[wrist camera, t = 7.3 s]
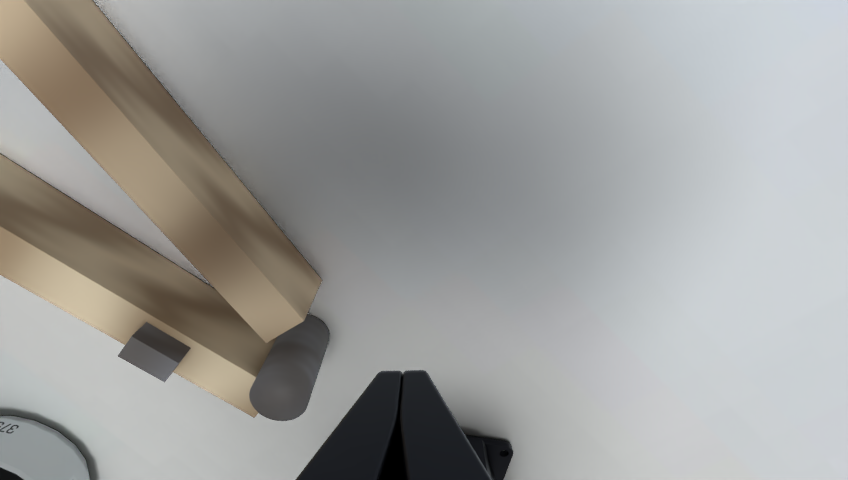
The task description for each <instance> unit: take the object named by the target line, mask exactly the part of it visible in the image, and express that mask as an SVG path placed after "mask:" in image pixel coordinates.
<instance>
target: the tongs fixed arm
mask: <svg viewBox="0 0 848 480" xmlns="http://www.w3.org/2000/svg"><path fill="white" fill-rule="evenodd" d="M0 275H2V276H4V277H5V278H7V279H9V280H11V281H12V282H14V283H16V284H18V285H20V286H21V287H23V288H25V289H27V290H28V291H30V292H32V293H34V294H36V295H37V296H39V297H41V298H43V299H44V300H46V301H48V302H50V303H52V304H53V305H55V306H57V307H59V308H60V309H62V310H64V311H66V312H67V313H69V314H71V315H73V316H75V317H76V318H78V319H80V320H82V321H83V322H85V323H87V324H89V325H91V326H92V327H94V328H96V329H98V330H99V331H101V332H103V333H105V334H107V335H108V336H110V337H112V338H114V339H115V340H117V341H119V342H121V343H123V344H124V345H125V346H124V348H123V349H122V351H121V352H120V354H119V355H118V357H120V358H122V359H124V360H126V361H127V362H129V363H131V364H133V365H135V366H136V367H138V368H140V369H142V370H144V371H145V372H147V373H149V374H151V375H153V376H155V377H156V378H158V379H160V380H162V381H164V382H165V381H166V380H167V379H168V377H169V376H170V375H171V373H172V372H174V373H176V374H178V375H179V376H181V377H183V378H185V379H186V380H188V381H190V382H192V383H194V384H195V385H197V386H199V387H201V388H202V389H204V390H206V391H208V392H210V393H211V394H213V395H215V396H217V397H218V398H220V399H222V400H224V401H225V402H227V403H229V404H231V405H233V406H234V407H236V408H238V409H240V410H241V411H243V412H245V413H247V414H249V415H250V416H252V417H255V416H256V415H257V414H258V413H260V414H261V415H263V416H265V417H267V418H269V419H272V420H277V421H287V420H292V419H295V418H297V417H299V416H300V415H301V414H303V413H304V411H305V410H306V408H307V406H308V403H309V399H310V396H311V393H312V390H313V387H314V384H315V381H316V378H317V375H318V372H319V369H320V366H321V363H322V360H323V357H324V354H325V351H326V348H327V345H328V342H329V331H328V328H327V326H326V325H325V324H324V323H323V322H322V321H321V320H320V319H318V318H317V317H314V316H311V315H307V316H306V318H305V320H304V321H303V322H301V323H300V324H298V325H296V326H294V327H293V328H291V329H289V330H288V331H286V332H284V333H282V334H281V335H279V336H277V337H276V338H274V339H272V340H271V341H269V342H267V343H266V342H265V341H264V340H263V339H262V338H261V337H260V336H259V335H258V334H257V333H256V332H255V331H254V330H253V329H252V327H251V326H250V325H249V324H248V323H247V322H246V321H245V320H244V319H243V318H242V317H241V316H240V315H239V314H238V313H237V311H236V310H235V309H234V308H233V307H232V306H231V305H230V304H229V303H228V302H227V301H226V300H225V299H224V298H223V296H222V295H221V294H220V293H219V292H218V291H217V290H215V289H214V288H212V287H211V286H209V285H207V284H206V283H204V282H203V281H201V280H199V279H198V278H196V277H195V276H193V275H192V274H190V273H188V272H187V271H185V270H184V269H182V268H180V267H179V266H177V265H176V264H174V263H172V262H171V261H169V260H168V259H166V258H165V257H163V256H161V255H160V254H158V253H157V252H155V251H153V250H152V249H150V248H149V247H147V246H146V245H144V244H142V243H141V242H139V241H138V240H136V239H134V238H133V237H131V236H130V235H128V234H126V233H125V232H123V231H122V230H120V229H119V228H117V227H115V226H114V225H112V224H111V223H109V222H107V221H106V220H104V219H103V218H101V217H100V216H98V215H96V214H95V213H93V212H92V211H90V210H88V209H87V208H85V207H84V206H82V205H81V204H79V203H77V202H76V201H74V200H73V199H71V198H69V197H68V196H66V195H65V194H63V193H61V192H60V191H58V190H57V189H55V188H54V187H52V186H50V185H49V184H47V183H46V182H44V181H42V180H41V179H39V178H38V177H36V176H35V175H33V174H31V173H30V172H28V171H27V170H25V169H23V168H22V167H20V166H19V165H17V164H15V163H14V162H12V161H11V160H9V159H8V158H6V157H4V156H3V155H1V154H0Z"/></svg>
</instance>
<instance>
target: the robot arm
mask: <svg viewBox="0 0 848 480" xmlns="http://www.w3.org/2000/svg"><path fill="white" fill-rule="evenodd" d="M502 450H505V451H502ZM512 456H513V450H512V446H511V444H510V443H509V442H506V441H501V440H495V439H488V438H481V437H475V436H468V435H465V434H464V433H463V431H462V429H461V428H460V426H459V425H458V423H457V421H456V420H455V418H454V416H453V415H452V413H451V411H450V410H449V408H448V406H447V405H446V403H445V401H444V400H443V398H442V396H441V395H440V393H439V391H438V390H437V388H436V386H435V385H434V383H433V381H432V380H431V378H430V376H429V375H428V373H427V372H426V371H424V370H412V371H405V372H404V373H403V374H402V372H401V371H381V372H379V373H378V374H377V375H376V377H375V378H374V379H373V381H372V382H371V383H370V384H369V386H368V387H367V388H366V390H365V391H364V392H363V394H362V395H361V396H360V397H359V399H358V400H357V401H356V403H355V404H354V405H353V406H352V408H351V409H350V410H349V412H348V413H347V414H346V415H345V417H344V418H343V419H342V421H341V422H340V423H339V425H338V426H337V427H336V428H335V430H334V431H333V432H332V434H331V435H330V436H329V437H328V439H327V440H326V441H325V443H324V444H323V445H322V446H321V448H320V449H319V450H318V452H317V453H316V454H315V456H314V457H313V458H312V459H311V461H310V462H309V463H308V465H307V466H306V467H305V468H304V470H303V471H302V472H301V474H300V475H299V476H298V477H297V479H296V480H503V479H504V476H505V474H506V471H507V469H508V466H509V463H510V461H511V458H512Z"/></svg>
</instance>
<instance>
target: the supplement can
mask: <svg viewBox="0 0 848 480" xmlns="http://www.w3.org/2000/svg"><path fill="white" fill-rule="evenodd" d="M0 480H90V479H89V472H88V467H87V463H86V460H85V458H84V457H83V455H82V454H81V453H80V451H79V450H78V448H77V447H76V445H75V444H73V443H72V442H71V441H70V440H68V439H67V438H66V437H64V436H63V435H62V434H61V433H59V432H58V431H56V430H54V429H52V428H50V427H48V426H46V425H43V424H41V423H39V422H37V421H34V420H29V419H25V418H20V417H16V416H0Z"/></svg>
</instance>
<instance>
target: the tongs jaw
mask: <svg viewBox="0 0 848 480" xmlns="http://www.w3.org/2000/svg"><path fill="white" fill-rule="evenodd" d="M0 59H1V60H2V61H3V62H4V63H5V64H6V65H7V67H8V68H9V69H10V70H11V71H12V72H13V73H14V74H15V75H16V76H17V77H18V78H19V79H20V80H21V82H22V83H23V84H24V85H25V86H26V87H27V88H28V89H29V90H30V91H31V92H32V93H33V94H34V95H35V96H36V98H37V99H38V100H39V101H40V102H41V103H42V104H43V105H44V106H45V107H46V108H47V109H48V110H49V111H50V113H51V114H52V115H53V116H54V117H55V118H56V119H57V120H58V121H59V122H60V123H61V124H62V125H63V126H64V127H65V129H66V130H67V131H68V132H69V133H70V134H71V135H72V136H73V137H74V138H75V139H76V140H77V141H78V142H79V144H80V145H81V146H82V147H83V148H84V149H85V150H86V151H87V152H88V153H89V154H90V155H91V156H92V157H93V159H94V160H95V161H96V162H97V163H98V164H99V165H100V166H101V167H102V168H103V169H104V170H105V171H106V172H107V173H108V175H109V176H110V177H111V178H112V179H113V180H114V181H115V182H116V183H117V184H118V185H119V186H120V187H121V188H122V190H123V191H124V192H125V193H126V194H127V195H128V196H129V197H130V198H131V199H132V200H133V201H134V202H135V203H136V204H137V206H138V207H139V208H140V209H141V210H142V211H143V212H144V213H145V214H146V215H147V216H148V217H149V218H150V219H151V221H152V222H153V223H154V224H155V225H156V226H157V227H158V228H159V229H160V230H161V231H162V232H163V233H164V234H165V236H166V237H167V238H168V239H169V240H170V241H171V242H172V243H173V244H174V245H175V246H176V247H177V248H178V249H179V250H180V252H181V253H182V254H183V255H184V256H185V257H186V258H187V259H188V260H189V261H190V262H191V263H192V264H193V265H194V267H195V268H196V269H197V270H198V271H199V272H200V273H201V274H202V275H203V276H204V277H205V278H206V279H207V280H208V282H209V283H210V284H211V285H212V286H213V287H214V288H215V289H216V290H217V291H218V292H219V293H220V294H221V295H222V296H223V298H224V299H225V300H226V301H227V302H228V303H229V304H230V305H231V306H232V307H233V308H234V309H235V310H236V311H237V313H238V314H239V315H240V316H241V317H242V318H243V319H244V320H245V321H246V322H247V323H248V324H249V325H250V326H251V327H252V329H253V330H254V331H255V332H256V333H257V334H258V335H259V336H260V337H261V338H262V339H263V340H264V341H265V342H266V343H267V342H269V341H271V340H272V339H274V338H276V337H277V336H279V335H281V334H282V333H284V332H286V331H288V330H289V329H291V328H293V327H294V326H296V325H298V324H300V323H301V322H303V321H304V320H305V318H306V316H307V313H308V311H309V309H310V307H311V304H312V302H313V300H314V298H315V295H316V293H317V291H318V289H319V287H320V284H321V282H322V279H321V278H320V277H319V276H318V275H317V273H316V272H315V271H314V270H313V268H312V267H311V266H310V265H309V264H308V262H307V261H306V260H305V259H304V257H303V256H302V255H301V254H300V253H299V251H298V250H297V249H296V248H295V247H294V245H293V244H292V243H291V242H290V240H289V239H288V238H287V237H286V236H285V234H284V233H283V232H282V231H281V229H280V228H279V227H278V226H277V225H276V223H275V222H274V221H273V220H272V219H271V217H270V216H269V215H268V214H267V212H266V211H265V210H264V209H263V208H262V206H261V205H260V204H259V203H258V201H257V200H256V199H255V198H254V197H253V195H252V194H251V193H250V192H249V191H248V189H247V188H246V187H245V186H244V184H243V183H242V182H241V181H240V180H239V178H238V177H237V176H236V175H235V173H234V172H233V171H232V170H231V169H230V167H229V166H228V165H227V164H226V163H225V161H224V160H223V159H222V158H221V156H220V155H219V154H218V153H217V152H216V150H215V149H214V148H213V147H212V145H211V144H210V143H209V142H208V141H207V139H206V138H205V137H204V136H203V135H202V133H201V132H200V131H199V130H198V128H197V127H196V126H195V125H194V124H193V122H192V121H191V120H190V119H189V117H188V116H187V115H186V114H185V113H184V111H183V110H182V109H181V108H180V107H179V105H178V104H177V103H176V102H175V100H174V99H173V98H172V97H171V96H170V94H169V93H168V92H167V91H166V89H165V88H164V87H163V86H162V85H161V83H160V82H159V81H158V80H157V79H156V77H155V76H154V75H153V74H152V72H151V71H150V70H149V69H148V68H147V66H146V65H145V64H144V63H143V61H142V60H141V59H140V58H139V57H138V55H137V54H136V53H135V52H134V51H133V49H132V48H131V47H130V46H129V44H128V43H127V42H126V41H125V40H124V38H123V37H122V36H121V35H120V33H119V32H118V31H117V30H116V29H115V27H114V26H113V25H112V24H111V23H110V21H109V20H108V19H107V18H106V16H105V15H104V14H103V13H102V12H101V10H100V9H99V8H98V7H97V5H96V4H95V3H94V2H93V1H92V0H0Z"/></svg>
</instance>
